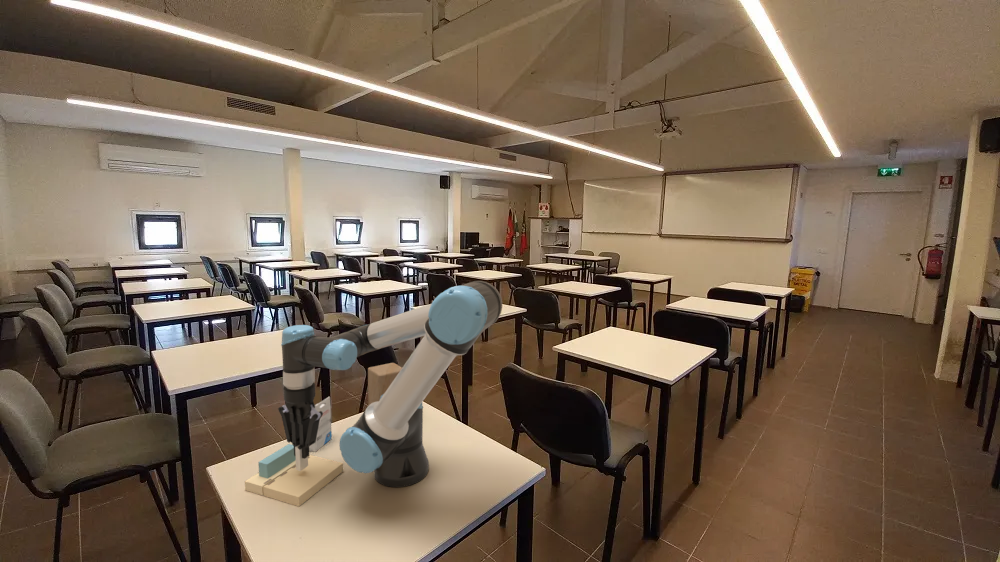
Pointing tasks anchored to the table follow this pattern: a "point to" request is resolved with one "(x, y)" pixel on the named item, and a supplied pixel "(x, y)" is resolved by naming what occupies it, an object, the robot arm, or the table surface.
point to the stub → (271, 469)
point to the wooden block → (380, 380)
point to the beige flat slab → (303, 481)
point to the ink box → (323, 425)
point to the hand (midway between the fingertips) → (302, 467)
